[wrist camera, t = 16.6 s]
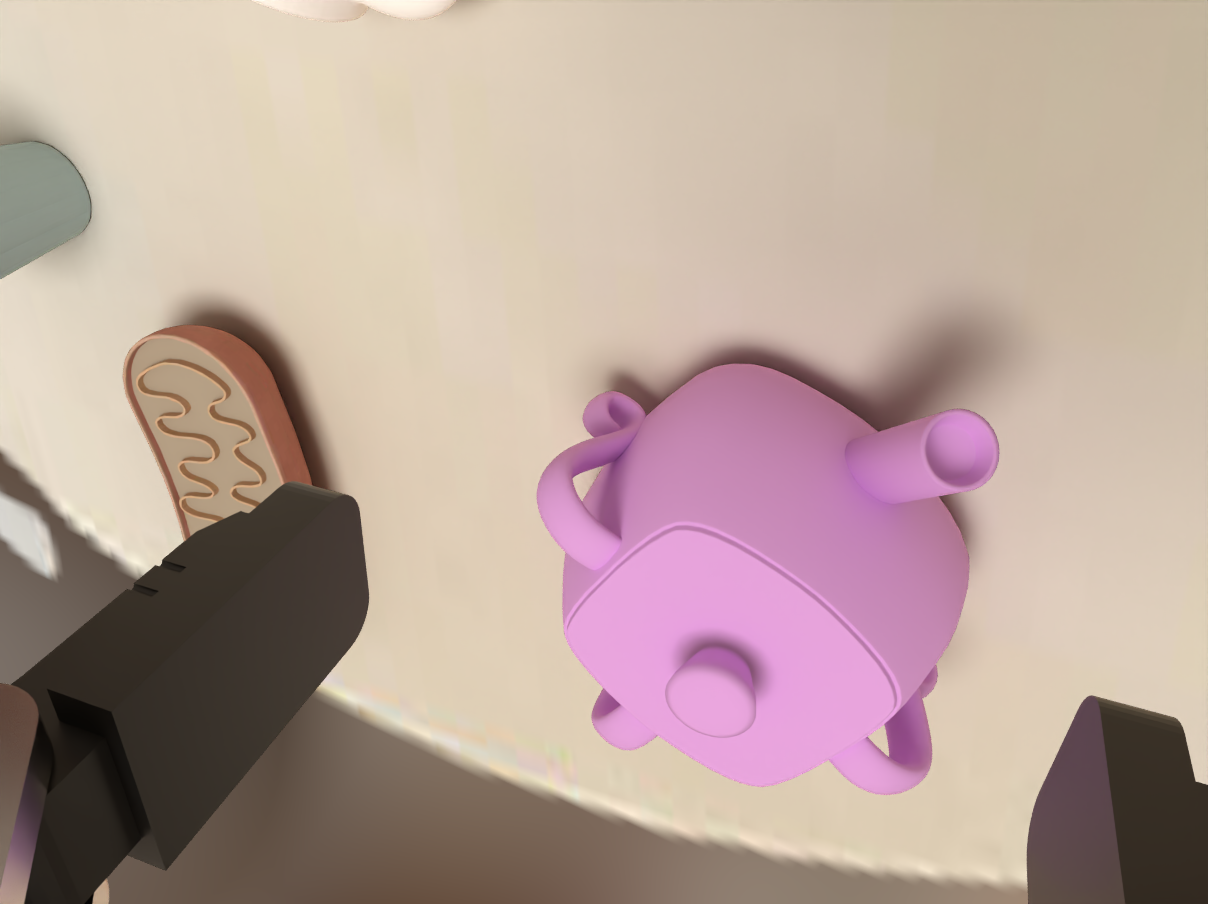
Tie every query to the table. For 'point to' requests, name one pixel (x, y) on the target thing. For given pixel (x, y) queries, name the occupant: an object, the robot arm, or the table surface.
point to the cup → (37, 203)
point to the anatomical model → (211, 422)
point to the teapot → (765, 574)
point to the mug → (358, 8)
